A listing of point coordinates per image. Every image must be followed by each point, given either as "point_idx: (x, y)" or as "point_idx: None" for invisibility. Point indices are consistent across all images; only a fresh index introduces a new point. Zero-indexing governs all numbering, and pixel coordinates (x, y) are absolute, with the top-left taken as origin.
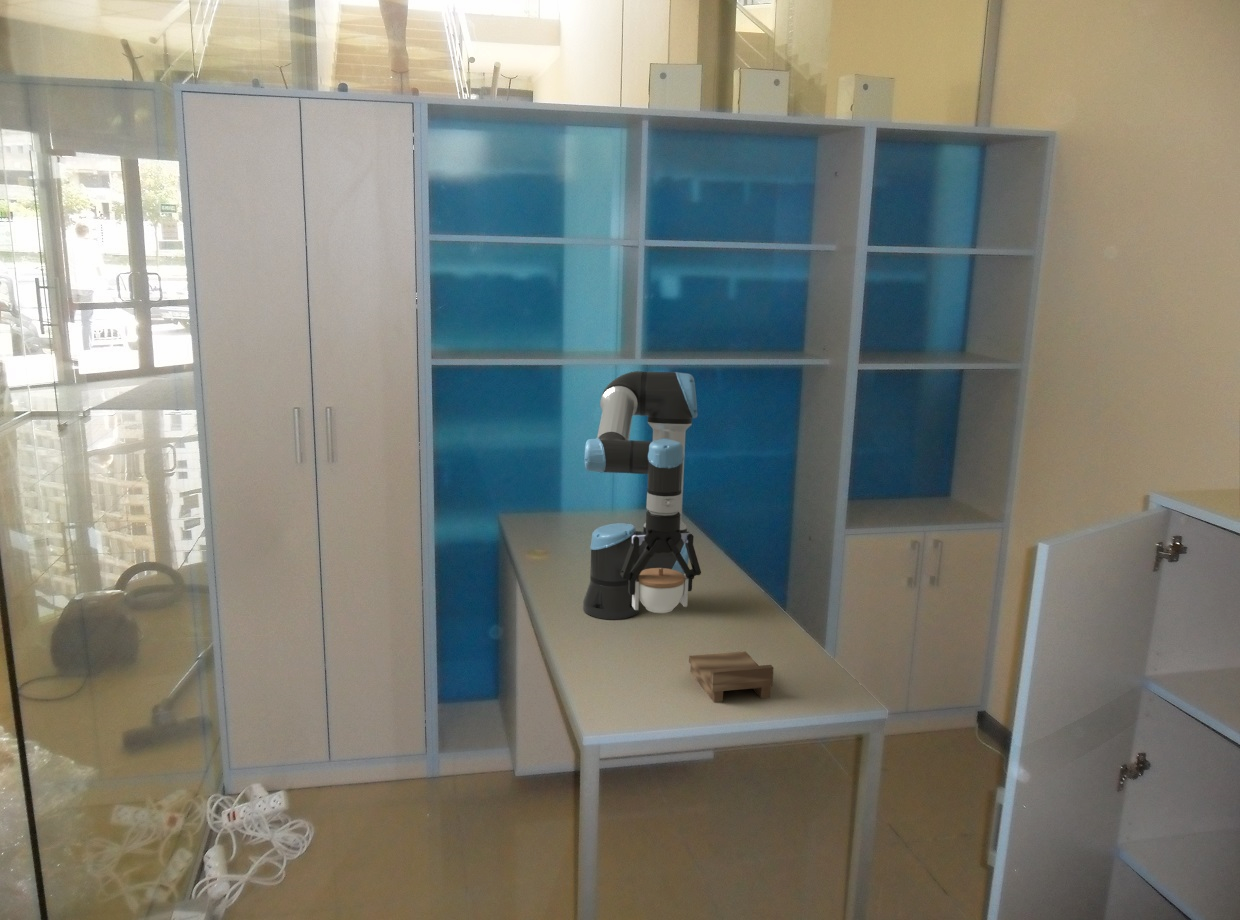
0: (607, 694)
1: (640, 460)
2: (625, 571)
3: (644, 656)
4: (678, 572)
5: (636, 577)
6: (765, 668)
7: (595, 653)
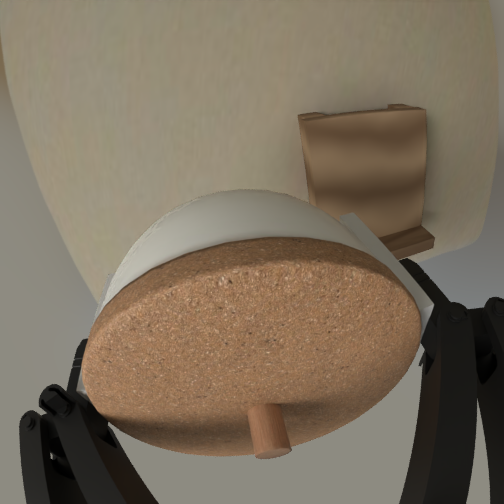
0: (118, 233)
1: None
2: (64, 475)
3: (194, 33)
4: (405, 345)
5: (115, 445)
6: (421, 251)
7: (76, 39)
